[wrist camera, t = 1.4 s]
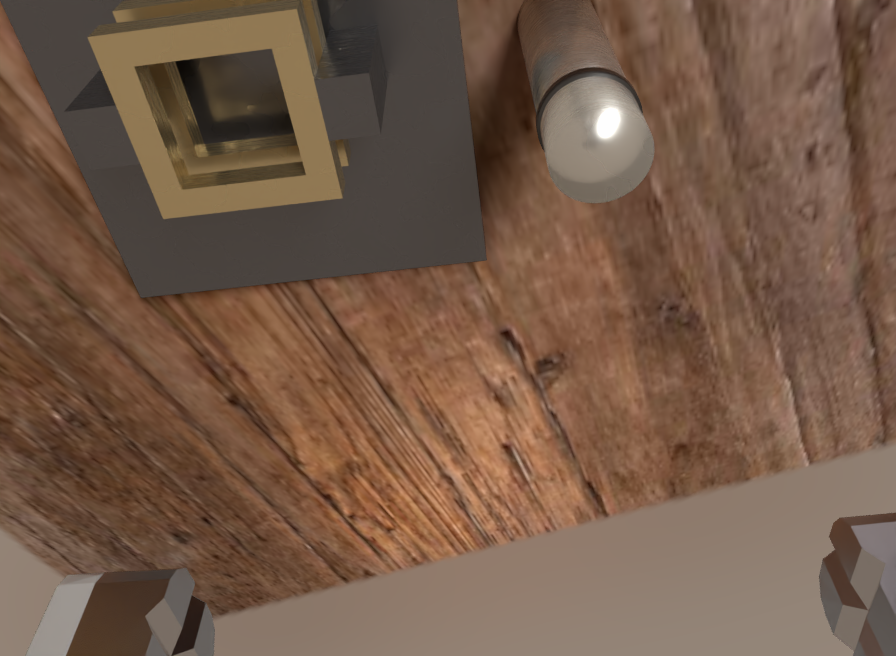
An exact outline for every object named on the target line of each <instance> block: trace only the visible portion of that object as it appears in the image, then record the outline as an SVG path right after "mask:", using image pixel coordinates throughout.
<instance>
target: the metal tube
mask: <svg viewBox="0 0 896 656" xmlns="http://www.w3.org/2000/svg"><path fill="white" fill-rule="evenodd" d="M518 33H519V37H520V42H521V47H522V51H523V56H524V60H525V65H526V69H527V74H528V78H529V83H530V87H531V92H532V96H533V101H534V106H535V110H536V128H537V133H538V138H539V141H540V144H541V146H542V149H543V150H544V152H545V156H546V160H547V165H548V169H549V173H550V176H551V178H552V180H553V182H554V184H555V185H556V186H557V187H558V189H559V190H560V191H561V192H563V193H564V194H565V195H567V196H568V197H570V198H572V199H575V200H577V201H581V202H586V203H603V202H608V201H612V200H615V199H617V198H620V197H622V196H624V195H626V194H627V193H629V192H630V191H632V190H633V189H634V188H635V187H637V186H638V185H639V184H640V182H641V181H642V180H643V179H644V178H645V176H646V175H647V173H648V171H649V169H650V167H651V164H652V161H653V157H654V141H653V137H652V134H651V132H650V130H649V127H648V125H647V123H646V121H645V119H644V117H643V111H642V106H641V103H640V100H639V98H638V96H637V93H636V92H635V90H634V88H633V86H632V85H631V84H630V82H629V81H628V80H627V79H626V77H625V75H624V73H623V71H622V69H621V66H620V64H619V62H618V60H617V58H616V56H615V53H614V51H613V49H612V47H611V45H610V43H609V40H608V38H607V36H606V34H605V32H604V30H603V27H602V25H601V23H600V21H599V19H598V16H597V14H596V12H595V10H594V8H593V6H592V3H591V1H590V0H525V1H524V3H523V5H522V6H521V9H520V12H519V15H518Z"/></svg>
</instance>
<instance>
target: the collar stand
mask: <svg viewBox="0 0 896 656" xmlns="http://www.w3.org/2000/svg"><path fill="white" fill-rule="evenodd" d="M0 1H1V3H2V5H3V7H4V10H5V12H6V14H7V16H8V18H9V20H10V22H11V24H12V26H13V29H14V31H15V33H16V35H17V37H18V39H19V41H20V43H21V45H22V48H23V50H24V52H25V54H26V56H27V58H28V60H29V62H30V64H31V67H32V69H33V71H34V73H35V75H36V77H37V79H38V81H39V83H40V86H41V88H42V90H43V92H44V94H45V96H46V98H47V100H48V102H49V105H50V107H51V109H52V111H53V113H54V115H55V117H56V119H57V121H58V124H59V126H60V128H61V130H62V132H63V134H64V136H65V138H66V140H67V143H68V145H69V147H70V149H71V151H72V153H73V155H74V157H75V159H76V162H77V164H78V166H79V168H80V170H81V172H82V174H83V176H84V178H85V181H86V183H87V185H88V187H89V189H90V191H91V193H92V195H93V197H94V200H95V202H96V204H97V206H98V208H99V210H100V212H101V214H102V216H103V219H104V221H105V223H106V225H107V227H108V229H109V231H110V233H111V235H112V238H113V240H114V242H115V244H116V246H117V248H118V250H119V252H120V254H121V257H122V259H123V261H124V263H125V265H126V267H127V269H128V271H129V273H130V275H131V278H132V280H133V282H134V284H135V286H136V288H137V290H138V292H139V294H140V297H141V298H144V297H153V296H162V295H172V294H181V293H190V292H199V291H208V290H217V289H227V288H236V287H245V286H254V285H263V284H273V283H282V282H291V281H300V280H309V279H319V278H328V277H337V276H346V275H355V274H365V273H374V272H383V271H392V270H401V269H410V268H420V267H429V266H438V265H447V264H456V263H466V262H475V261H484V260H487V259H486V247H485V239H484V230H483V221H482V213H481V204H480V195H479V187H478V178H477V169H476V161H475V152H474V143H473V135H472V126H471V117H470V109H469V100H468V91H467V83H466V74H465V65H464V57H463V48H462V39H461V30H460V22H459V13H458V4H457V0H0Z"/></svg>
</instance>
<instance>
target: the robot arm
mask: <svg viewBox="0 0 896 656" xmlns="http://www.w3.org/2000/svg"><path fill="white" fill-rule="evenodd" d="M829 537H830V540H831V542H832V544H833V546H834V548H835V550H834V551H833V552H832V553H830V554H829V555H828V556H827V557H825V558H824V559H823V560H822V565H821V570H820V575H819V582H820V594H821V600H822V604H823V607H824V611H825V614H826V617H827V620H828V622H829V625H830V627H831V630H832V632H833V635H835V636H836V637H837V638H838V639H839V640H841V641H842V642H843V643H844V644H846V645H847V646H848V647H849V648H851V649H852V650H853V651H854V653H853V656H896V513H888V514H878V515H866V516H855V517H845V518H839V519H838V520H837V521H835V522H834V523H833V526H832V529H831V532H830V536H829ZM194 585H195V582H194V580H193V579H192V577H191V575H190V574H189V572H188V570H187V569H186V568H177V569H159V570H141V571H124V572H102V573H88V574H74V575H67V576H66V577H65V578H64V579H63V581H62V582H61V583H60V584H59V585H58V586H57V587H56V589H55V591H54V593H53V595H52V598H51V600H50V602H49V604H48V606H47V609H46V611H45V613H44V615H43V618H42V620H41V622H40V624H39V626H38V628H37V631H36V633H35V635H34V637H33V640H32V642H31V644H30V646H29V648H28V650H27V653H26V655H25V656H213V655H214V635H215V629H214V624H213V619H212V615H211V612H210V610H209V608H208V606H207V604H206V603H205V602H203V601H201V600H200V599H198V598H196V597H194V596H192V592H193V589H194Z"/></svg>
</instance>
